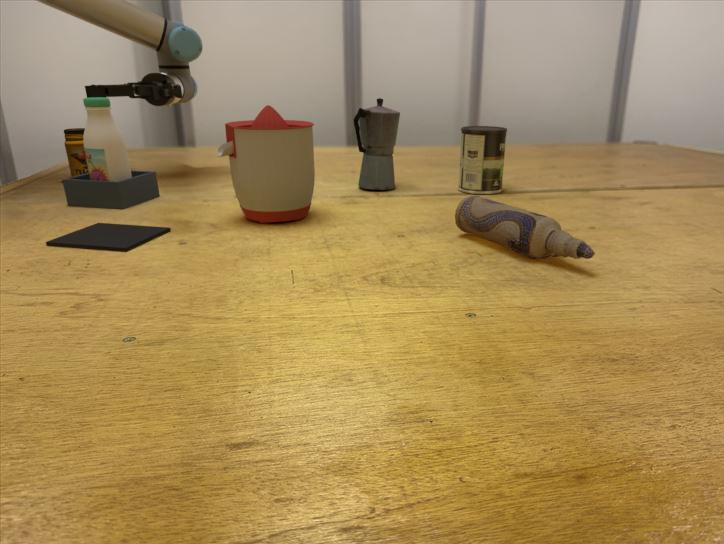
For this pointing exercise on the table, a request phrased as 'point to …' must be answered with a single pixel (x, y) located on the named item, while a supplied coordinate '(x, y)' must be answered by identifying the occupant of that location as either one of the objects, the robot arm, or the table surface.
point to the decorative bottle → (518, 229)
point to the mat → (109, 237)
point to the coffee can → (482, 159)
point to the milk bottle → (104, 143)
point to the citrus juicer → (271, 166)
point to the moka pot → (377, 145)
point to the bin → (111, 191)
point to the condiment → (76, 151)
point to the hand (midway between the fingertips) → (119, 93)
